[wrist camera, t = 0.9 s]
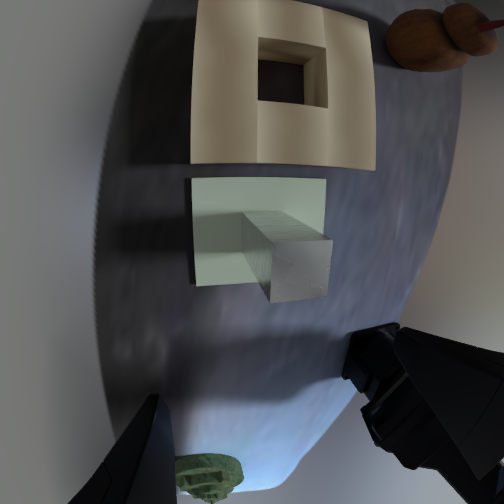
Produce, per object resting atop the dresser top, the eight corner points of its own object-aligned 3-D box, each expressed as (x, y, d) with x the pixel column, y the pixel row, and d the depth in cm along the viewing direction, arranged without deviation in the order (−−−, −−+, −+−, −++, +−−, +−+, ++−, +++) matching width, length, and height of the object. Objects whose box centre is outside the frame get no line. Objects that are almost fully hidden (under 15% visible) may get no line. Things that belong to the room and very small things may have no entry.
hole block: (342, 37, 17) (367, 21, 13) (346, 168, 21) (375, 170, 17) (197, 18, 15) (199, -9, 11) (191, 164, 18) (190, 163, 14)
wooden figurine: (385, 75, 19) (525, 44, 5) (367, 22, 17) (486, -33, 3) (430, 79, 19) (549, 67, 5) (414, 32, 17) (522, 2, 3)
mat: (323, 178, 20) (326, 179, 20) (317, 274, 23) (319, 276, 23) (191, 178, 19) (191, 178, 18) (196, 284, 21) (196, 286, 21)
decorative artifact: (178, 480, 31) (240, 476, 33) (181, 515, 24) (248, 510, 26) (166, 453, 28) (241, 449, 30) (168, 495, 21) (251, 491, 23)
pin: (282, 211, 20) (332, 239, 13) (280, 250, 21) (326, 296, 14) (241, 212, 20) (272, 242, 12) (241, 252, 20) (270, 303, 13)
